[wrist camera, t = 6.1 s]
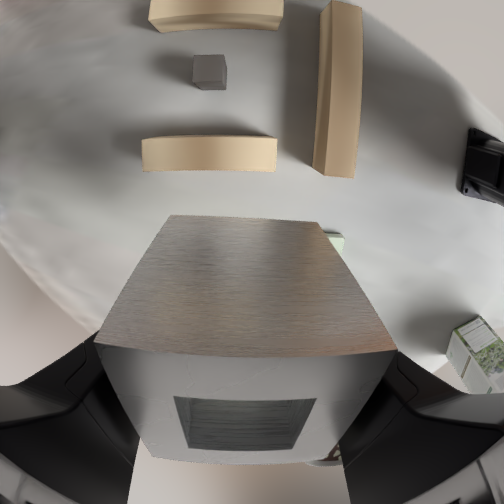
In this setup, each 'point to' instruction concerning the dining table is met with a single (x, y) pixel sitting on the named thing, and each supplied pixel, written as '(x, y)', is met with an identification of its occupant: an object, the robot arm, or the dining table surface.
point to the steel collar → (242, 342)
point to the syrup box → (478, 357)
